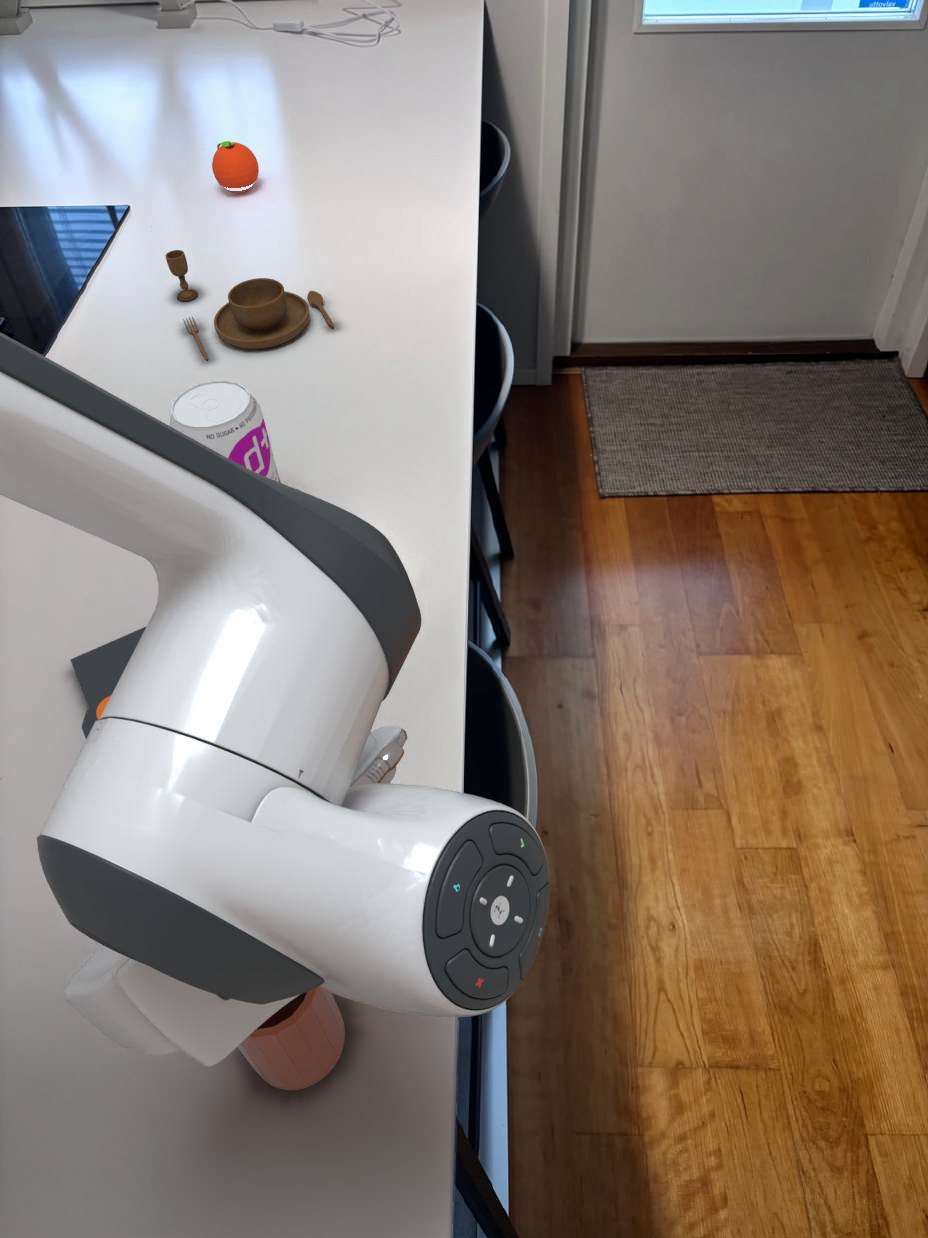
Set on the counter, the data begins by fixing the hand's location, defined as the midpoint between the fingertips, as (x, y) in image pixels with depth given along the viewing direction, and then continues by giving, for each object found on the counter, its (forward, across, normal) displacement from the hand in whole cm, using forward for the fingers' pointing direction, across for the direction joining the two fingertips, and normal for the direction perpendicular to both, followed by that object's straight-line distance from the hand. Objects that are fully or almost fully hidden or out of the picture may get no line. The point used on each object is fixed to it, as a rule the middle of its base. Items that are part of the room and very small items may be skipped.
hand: (188, 857), depth 57 cm
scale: (+24, -14, -4) cm, 28 cm away
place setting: (+51, -63, -27) cm, 85 cm away
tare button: (+21, -8, -5) cm, 23 cm away
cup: (+2, +2, +15) cm, 15 cm away
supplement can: (+30, -32, -9) cm, 45 cm away
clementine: (+72, -89, -45) cm, 123 cm away
